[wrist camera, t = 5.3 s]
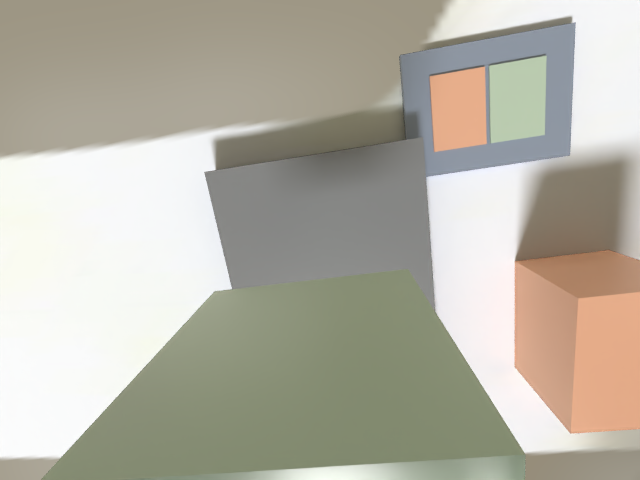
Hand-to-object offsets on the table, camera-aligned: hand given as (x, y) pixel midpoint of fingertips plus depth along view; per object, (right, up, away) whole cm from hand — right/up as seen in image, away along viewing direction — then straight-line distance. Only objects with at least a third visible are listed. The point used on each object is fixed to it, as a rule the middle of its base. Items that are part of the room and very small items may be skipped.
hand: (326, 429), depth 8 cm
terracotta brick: (+14, 0, +11) cm, 18 cm away
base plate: (0, +3, +11) cm, 11 cm away
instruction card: (+8, +11, +8) cm, 16 cm away
